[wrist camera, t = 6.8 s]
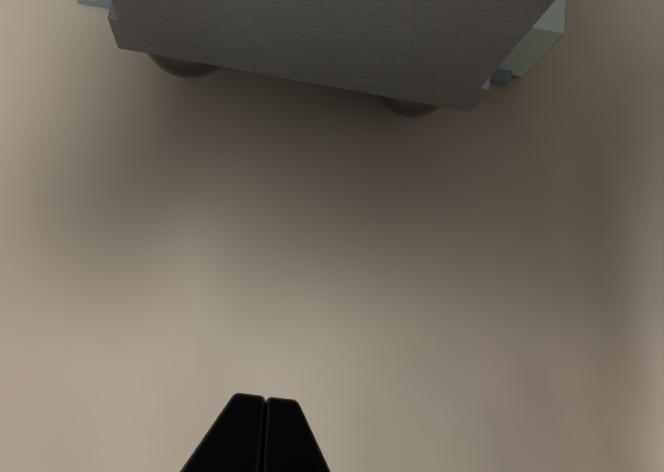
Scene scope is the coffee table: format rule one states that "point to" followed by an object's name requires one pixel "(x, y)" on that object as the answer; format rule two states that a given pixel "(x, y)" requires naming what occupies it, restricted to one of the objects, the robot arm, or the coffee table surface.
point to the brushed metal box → (337, 43)
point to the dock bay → (521, 55)
